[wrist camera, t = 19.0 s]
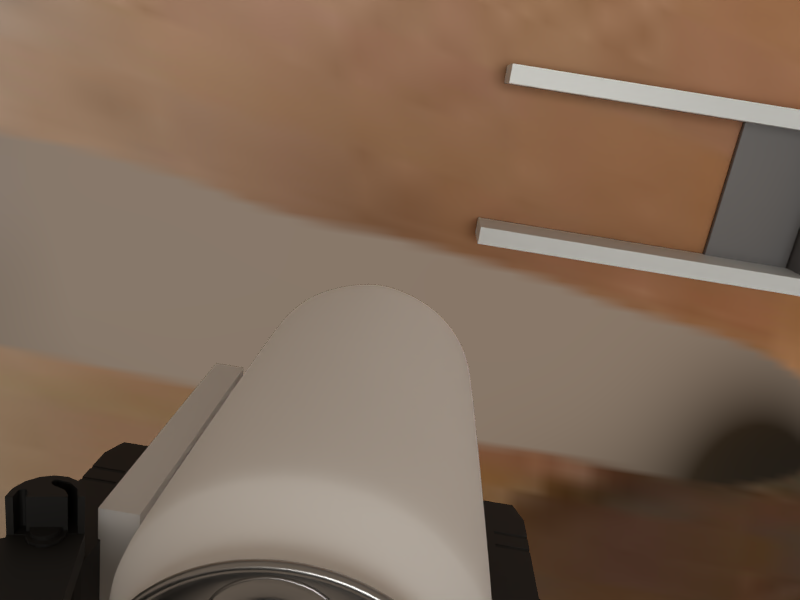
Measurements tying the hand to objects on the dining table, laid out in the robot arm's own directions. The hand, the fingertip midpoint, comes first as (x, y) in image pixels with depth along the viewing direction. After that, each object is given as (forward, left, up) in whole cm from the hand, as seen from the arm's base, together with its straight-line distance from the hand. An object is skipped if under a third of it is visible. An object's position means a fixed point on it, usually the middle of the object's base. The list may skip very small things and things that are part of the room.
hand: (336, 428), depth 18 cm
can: (0, 0, -3) cm, 3 cm away
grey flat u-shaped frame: (-15, -6, -25) cm, 29 cm away
